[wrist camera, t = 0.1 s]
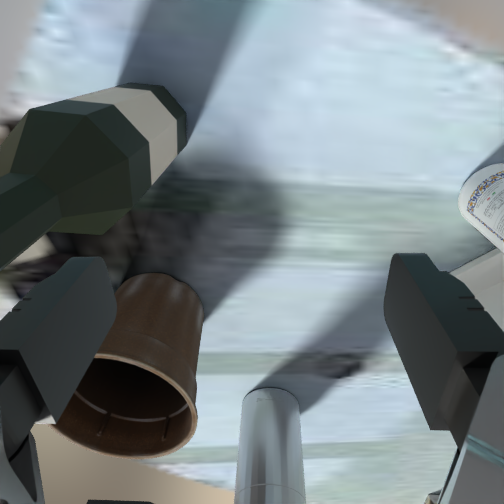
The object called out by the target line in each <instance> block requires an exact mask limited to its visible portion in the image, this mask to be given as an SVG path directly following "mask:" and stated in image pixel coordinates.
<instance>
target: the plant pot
mask: <svg viewBox="0 0 504 504" xmlns="http://www.w3.org/2000/svg"><path fill="white" fill-rule="evenodd" d="M114 295H115V298H116V303H117V313H116V318H115V321H114V323H113V325H112V327H111V328H110V330H109V332H108V334H107V335H106V337H105V339H104V341H103V343H102V344H101V346H100V348H99V350H98V351H97V353H96V355H95V357H94V358H93V360H92V362H91V364H90V365H89V367H88V369H87V371H86V372H85V374H84V376H83V378H82V379H81V381H80V383H79V385H78V386H77V388H76V390H75V392H74V393H73V395H72V397H71V399H70V400H69V402H68V404H67V406H66V407H65V409H64V411H63V413H62V414H61V416H60V418H59V420H58V421H57V423H56V424H47V425H48V426H49V427H50V428H51V429H52V430H54V431H55V432H56V433H58V434H59V435H60V436H62V437H63V438H65V439H67V440H68V441H70V442H72V443H74V444H76V445H78V446H80V447H82V448H84V449H87V450H89V451H92V452H95V453H98V454H102V455H107V456H111V457H117V458H124V459H150V458H156V457H161V456H165V455H168V454H171V453H173V452H175V451H177V450H179V449H180V448H182V447H183V446H184V445H186V444H187V443H188V442H189V441H190V439H191V438H192V437H193V435H194V433H195V430H196V427H197V419H198V416H197V409H196V406H195V402H196V393H197V383H196V379H195V378H196V370H197V362H198V354H199V347H200V340H201V333H202V326H203V320H204V310H203V306H202V303H201V300H200V299H199V297H198V295H197V294H196V293H195V291H194V290H193V289H192V288H191V287H189V286H188V285H187V284H186V283H184V282H179V281H177V280H175V279H173V278H172V277H171V276H170V275H166V274H161V273H144V274H139V275H136V276H133V277H131V278H129V279H128V280H126V281H125V282H124V283H123V284H122V285H121V286H120V287H119V288H118V290H117V291H116V292H115V294H114Z"/></svg>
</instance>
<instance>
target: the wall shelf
mask: <svg viewBox="0 0 504 504" xmlns="http://www.w3.org/2000/svg"><path fill="white" fill-rule="evenodd" d="M450 274H451V275H453V276H454V277H456V278H457V279H459V280H460V281H462V282H463V283H465V285H466V286H467V287H468V288H469V290H470V291H471V292H472V293H473V295H474V296H475V299H478V301H479V302H480V303H481V304H482V306H483V307H484V311H487V312H488V313H489V314H490V316H491V317H492V318H493V319H494V321H495V322H496V323H497V324H498V325H499V327H500V328H501V329H502V330H503V332H504V254H503V253H502V252H501V251H500V250H499V249H498V248H496V249H494V250H492V251H490V252H488V253H486V254H484V255H482V256H481V257H479V258H477V259H475V260H473V261H471V262H469V263H467V264H465V265H463V266H461V267H459V268H458V269H456V270H454V271H452V272H450Z"/></svg>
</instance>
